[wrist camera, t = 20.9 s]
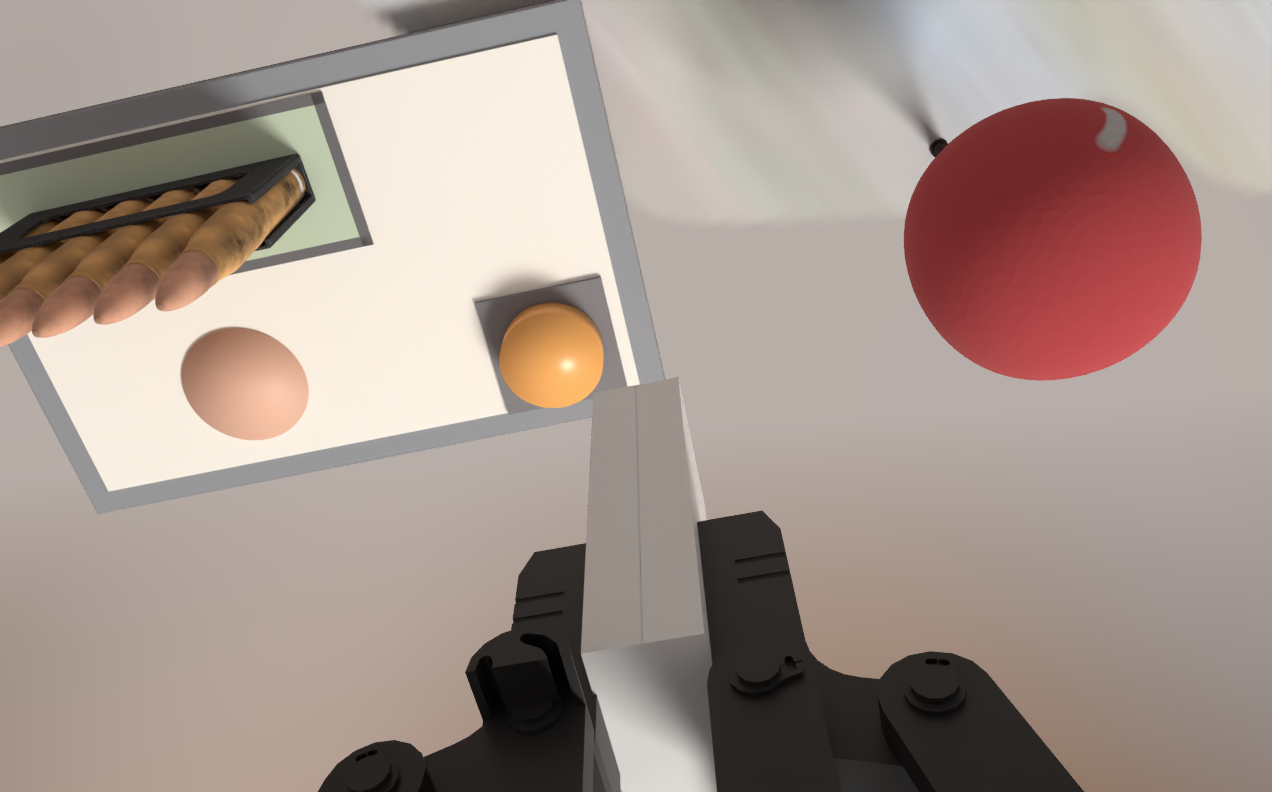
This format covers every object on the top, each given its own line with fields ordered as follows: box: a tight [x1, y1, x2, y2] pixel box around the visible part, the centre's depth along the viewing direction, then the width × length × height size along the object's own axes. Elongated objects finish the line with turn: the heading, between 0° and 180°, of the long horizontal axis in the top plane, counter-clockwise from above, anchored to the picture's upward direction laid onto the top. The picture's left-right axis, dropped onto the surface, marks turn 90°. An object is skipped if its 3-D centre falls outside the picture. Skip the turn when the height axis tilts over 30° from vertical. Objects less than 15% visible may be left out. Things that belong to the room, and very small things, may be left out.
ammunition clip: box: [0, 153, 316, 347], centre depth 34 cm, size 11×2×12 cm, turn 102°
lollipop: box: [904, 98, 1202, 380], centre depth 34 cm, size 8×8×15 cm
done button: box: [499, 302, 604, 408], centre depth 42 cm, size 4×4×1 cm
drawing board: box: [0, 0, 665, 514], centre depth 42 cm, size 16×25×1 cm, turn 102°
